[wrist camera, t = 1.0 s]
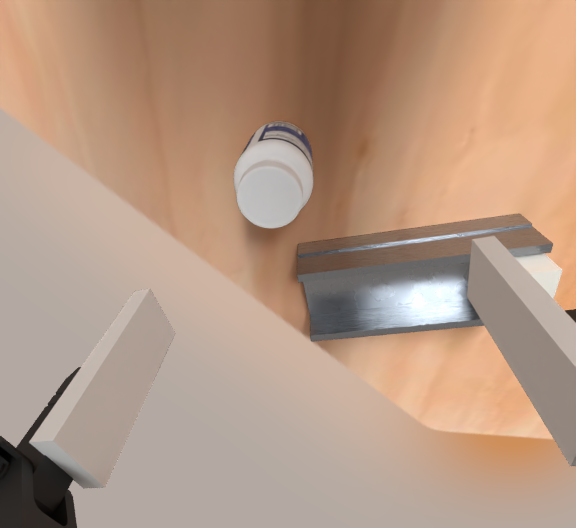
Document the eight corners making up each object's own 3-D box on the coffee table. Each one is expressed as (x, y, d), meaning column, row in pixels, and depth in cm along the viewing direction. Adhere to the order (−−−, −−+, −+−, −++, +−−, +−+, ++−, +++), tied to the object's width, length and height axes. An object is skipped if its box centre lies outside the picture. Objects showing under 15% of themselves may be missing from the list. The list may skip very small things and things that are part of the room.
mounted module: (488, 241, 29) (525, 282, 24) (525, 237, 29) (571, 277, 24) (480, 295, 32) (511, 340, 27) (513, 291, 32) (551, 337, 27)
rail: (298, 243, 33) (296, 273, 29) (519, 213, 30) (553, 241, 26) (311, 309, 37) (311, 342, 33) (504, 288, 34) (531, 322, 30)
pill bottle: (272, 196, 30) (259, 253, 22) (235, 144, 28) (204, 187, 20) (324, 163, 28) (330, 212, 20) (289, 105, 26) (280, 134, 18)
